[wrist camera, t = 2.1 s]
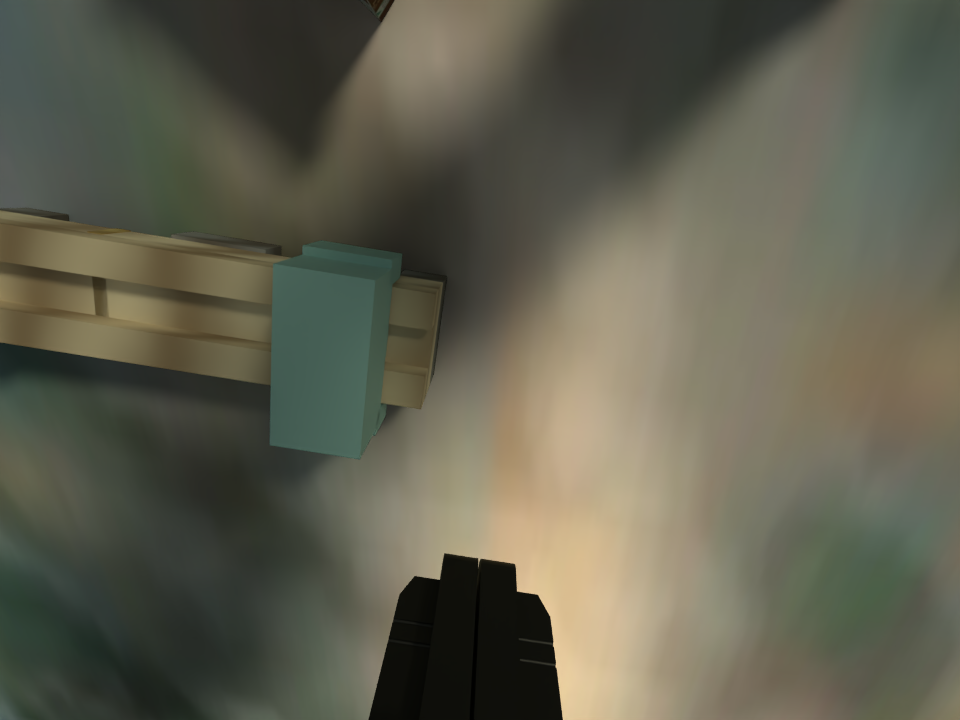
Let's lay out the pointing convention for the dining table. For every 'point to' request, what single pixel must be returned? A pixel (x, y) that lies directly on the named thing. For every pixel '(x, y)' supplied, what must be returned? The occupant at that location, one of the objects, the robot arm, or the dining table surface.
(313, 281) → the rider
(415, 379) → the beam
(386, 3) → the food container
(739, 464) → the dining table surface
